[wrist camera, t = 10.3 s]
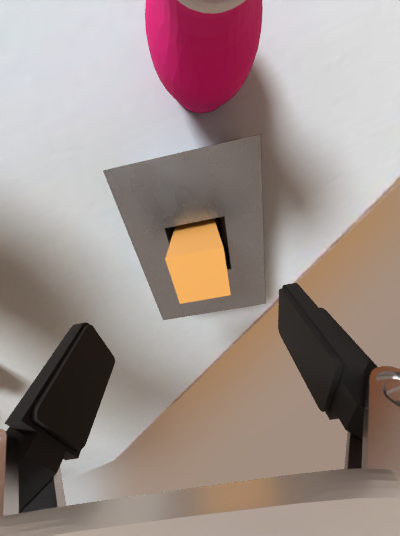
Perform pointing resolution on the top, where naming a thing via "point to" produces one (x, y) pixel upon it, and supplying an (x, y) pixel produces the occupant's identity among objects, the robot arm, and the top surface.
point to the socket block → (197, 217)
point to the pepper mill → (203, 47)
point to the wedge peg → (197, 262)
